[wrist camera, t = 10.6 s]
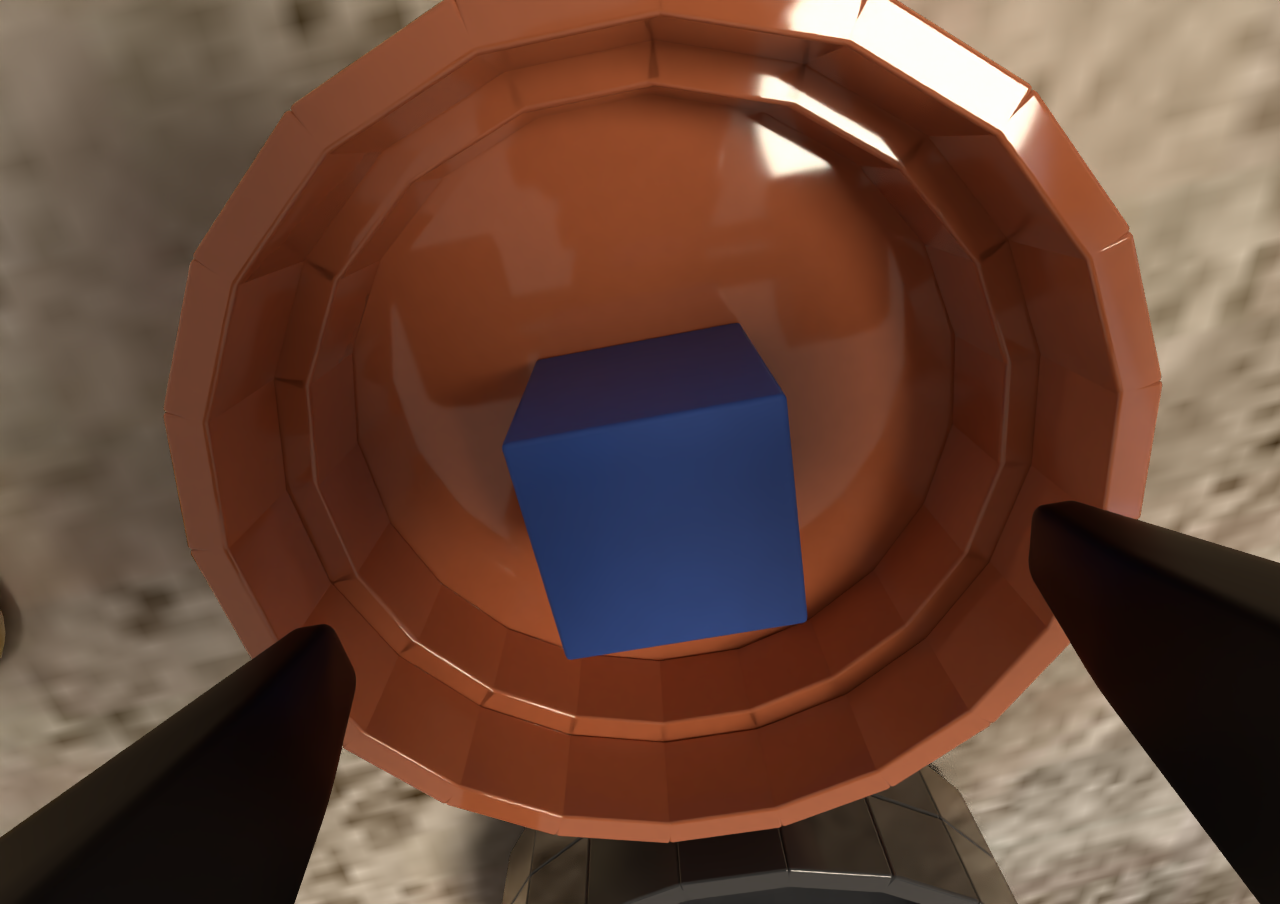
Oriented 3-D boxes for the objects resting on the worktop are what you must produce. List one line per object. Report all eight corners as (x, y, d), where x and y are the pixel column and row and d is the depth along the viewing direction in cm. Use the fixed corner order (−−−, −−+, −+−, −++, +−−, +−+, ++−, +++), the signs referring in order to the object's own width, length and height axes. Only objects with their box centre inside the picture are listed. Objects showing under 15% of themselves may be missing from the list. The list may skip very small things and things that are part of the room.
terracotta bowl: (980, 626, 16) (1096, 785, 12) (437, 710, 17) (379, 884, 13) (1014, -60, 10) (1263, -189, 6) (180, 120, 11) (-69, 107, 7)
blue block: (762, 501, 14) (809, 624, 10) (580, 531, 14) (565, 662, 11) (740, 320, 12) (787, 393, 9) (535, 359, 13) (498, 445, 9)
